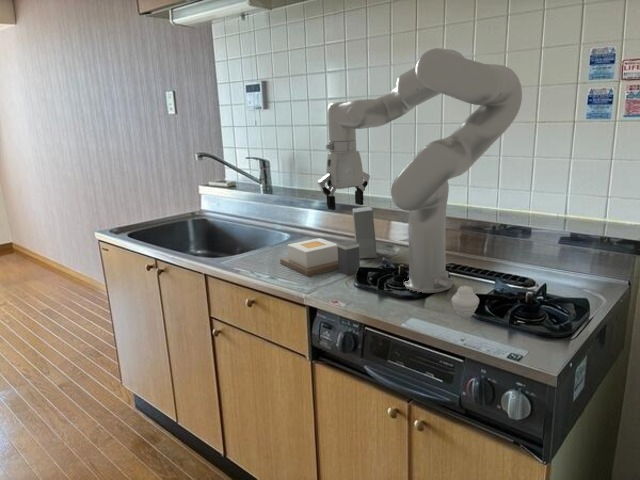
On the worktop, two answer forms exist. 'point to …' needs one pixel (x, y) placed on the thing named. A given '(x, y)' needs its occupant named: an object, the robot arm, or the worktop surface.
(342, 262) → the plug
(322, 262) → the socket
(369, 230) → the skincare box
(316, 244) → the plate
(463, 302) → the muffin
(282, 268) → the worktop surface
